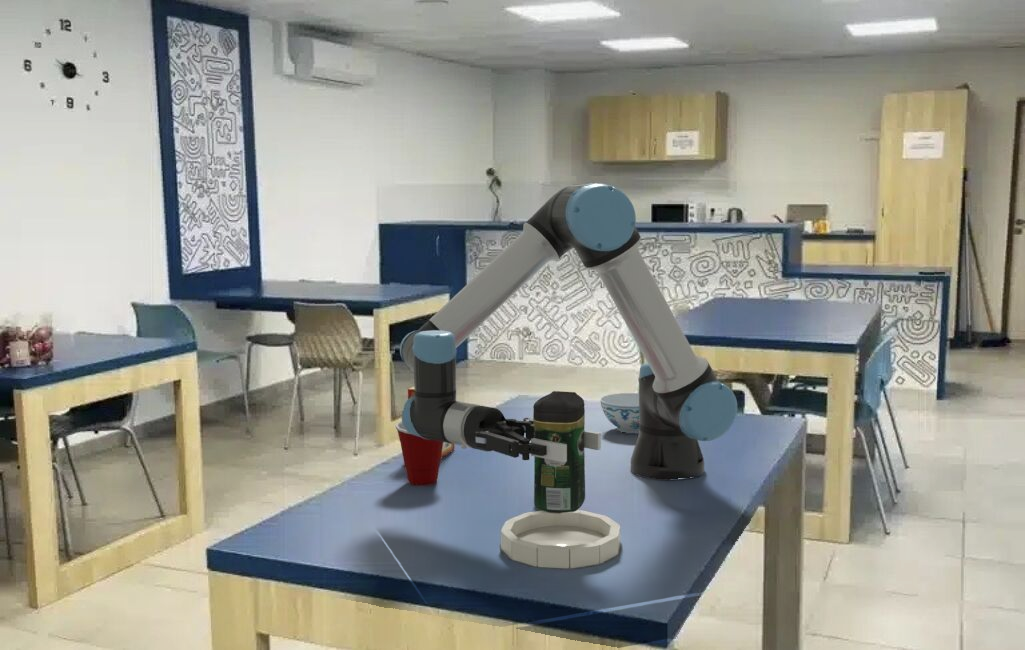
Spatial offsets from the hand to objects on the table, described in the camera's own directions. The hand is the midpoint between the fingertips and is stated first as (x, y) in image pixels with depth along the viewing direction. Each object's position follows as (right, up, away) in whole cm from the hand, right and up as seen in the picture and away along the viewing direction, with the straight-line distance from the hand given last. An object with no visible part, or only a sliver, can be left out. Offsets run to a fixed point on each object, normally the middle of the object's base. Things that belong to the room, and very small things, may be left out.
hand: (582, 447), depth 155 cm
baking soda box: (-29, -10, +64) cm, 71 cm away
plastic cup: (-29, -13, +44) cm, 54 cm away
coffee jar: (-3, -10, +4) cm, 12 cm away
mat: (-3, -17, +5) cm, 18 cm away
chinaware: (+18, -7, +84) cm, 86 cm away
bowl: (-3, -17, +5) cm, 18 cm away
